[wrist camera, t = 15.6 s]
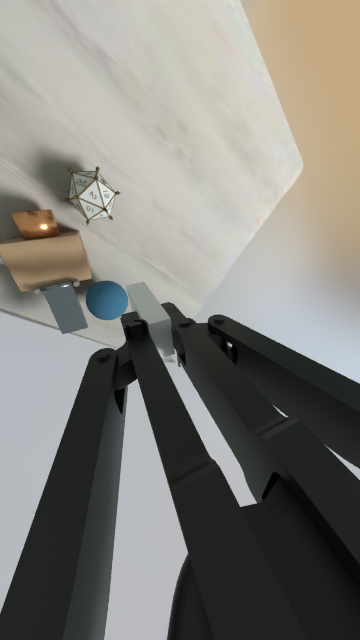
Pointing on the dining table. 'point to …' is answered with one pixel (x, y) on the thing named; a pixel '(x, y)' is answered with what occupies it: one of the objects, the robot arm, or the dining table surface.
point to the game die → (91, 194)
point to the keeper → (65, 306)
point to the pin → (36, 224)
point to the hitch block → (46, 260)
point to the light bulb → (106, 300)
